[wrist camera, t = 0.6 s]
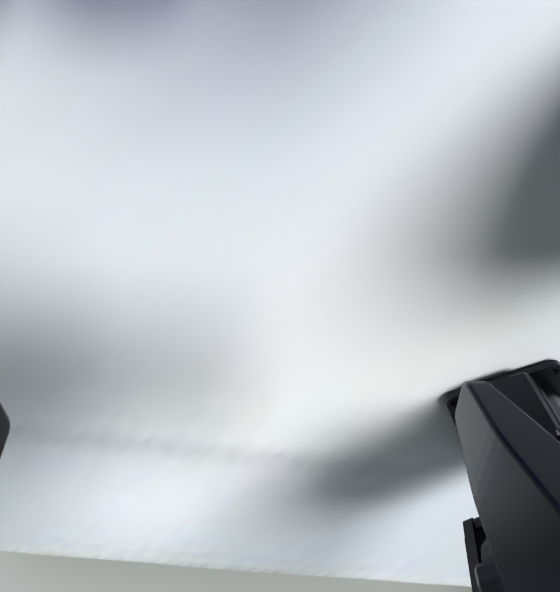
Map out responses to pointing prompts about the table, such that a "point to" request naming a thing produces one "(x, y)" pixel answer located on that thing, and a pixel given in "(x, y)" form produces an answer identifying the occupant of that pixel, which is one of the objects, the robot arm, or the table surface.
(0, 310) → the table surface
